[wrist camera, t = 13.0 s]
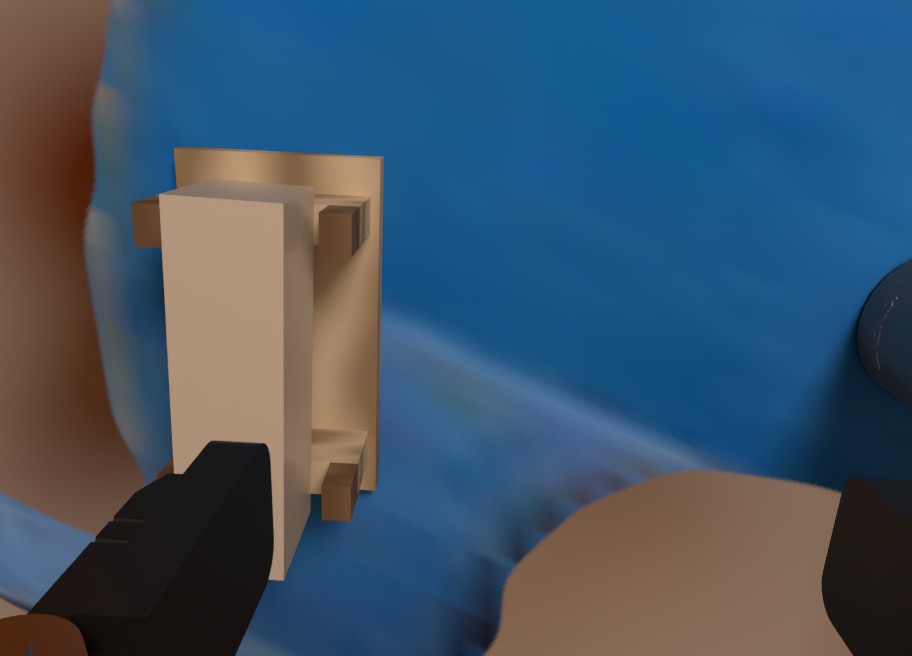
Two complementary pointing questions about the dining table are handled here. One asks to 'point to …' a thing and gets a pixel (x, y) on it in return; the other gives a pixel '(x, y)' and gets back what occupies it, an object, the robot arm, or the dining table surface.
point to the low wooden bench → (320, 300)
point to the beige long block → (243, 332)
